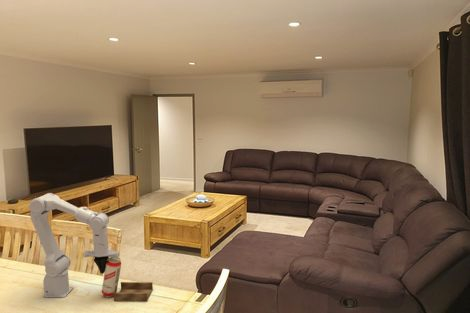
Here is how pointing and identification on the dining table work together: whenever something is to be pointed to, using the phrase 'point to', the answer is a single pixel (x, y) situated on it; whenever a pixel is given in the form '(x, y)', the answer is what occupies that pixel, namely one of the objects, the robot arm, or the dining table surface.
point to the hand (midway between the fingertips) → (102, 272)
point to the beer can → (111, 276)
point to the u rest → (134, 291)
